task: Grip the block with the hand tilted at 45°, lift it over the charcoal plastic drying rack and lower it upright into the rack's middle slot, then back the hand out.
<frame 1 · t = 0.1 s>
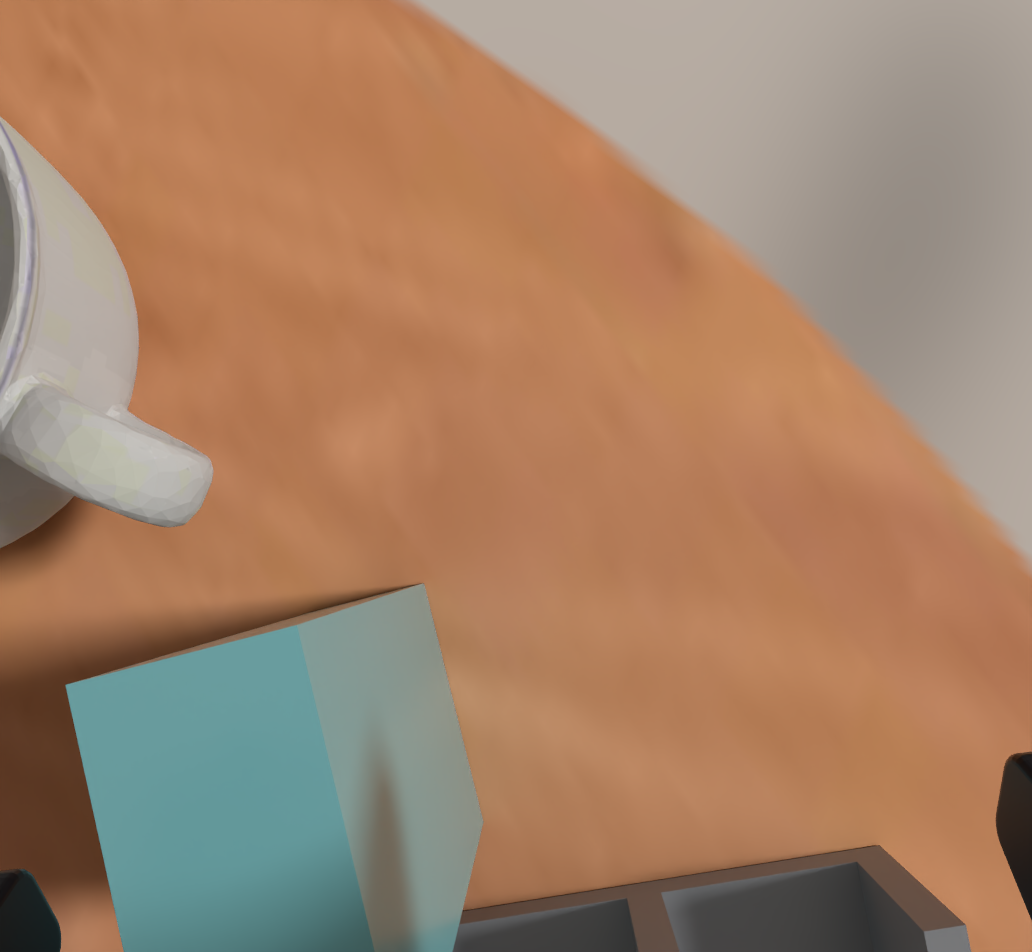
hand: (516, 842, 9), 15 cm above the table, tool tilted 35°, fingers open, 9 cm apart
block: (394, 716, 24), on the table
teacup: (36, 397, 25), on the table
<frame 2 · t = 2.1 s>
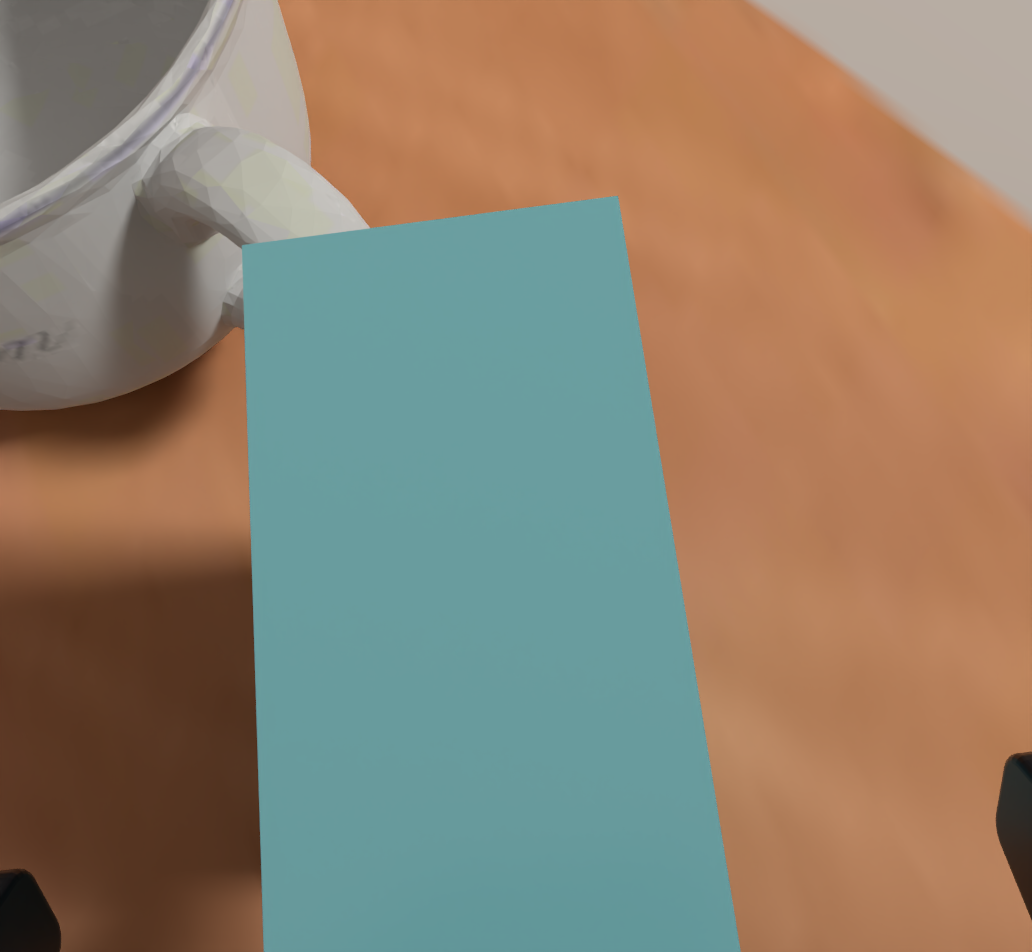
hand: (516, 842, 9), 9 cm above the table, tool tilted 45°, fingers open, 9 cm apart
block: (535, 699, 18), on the table
teacup: (169, 277, 22), on the table
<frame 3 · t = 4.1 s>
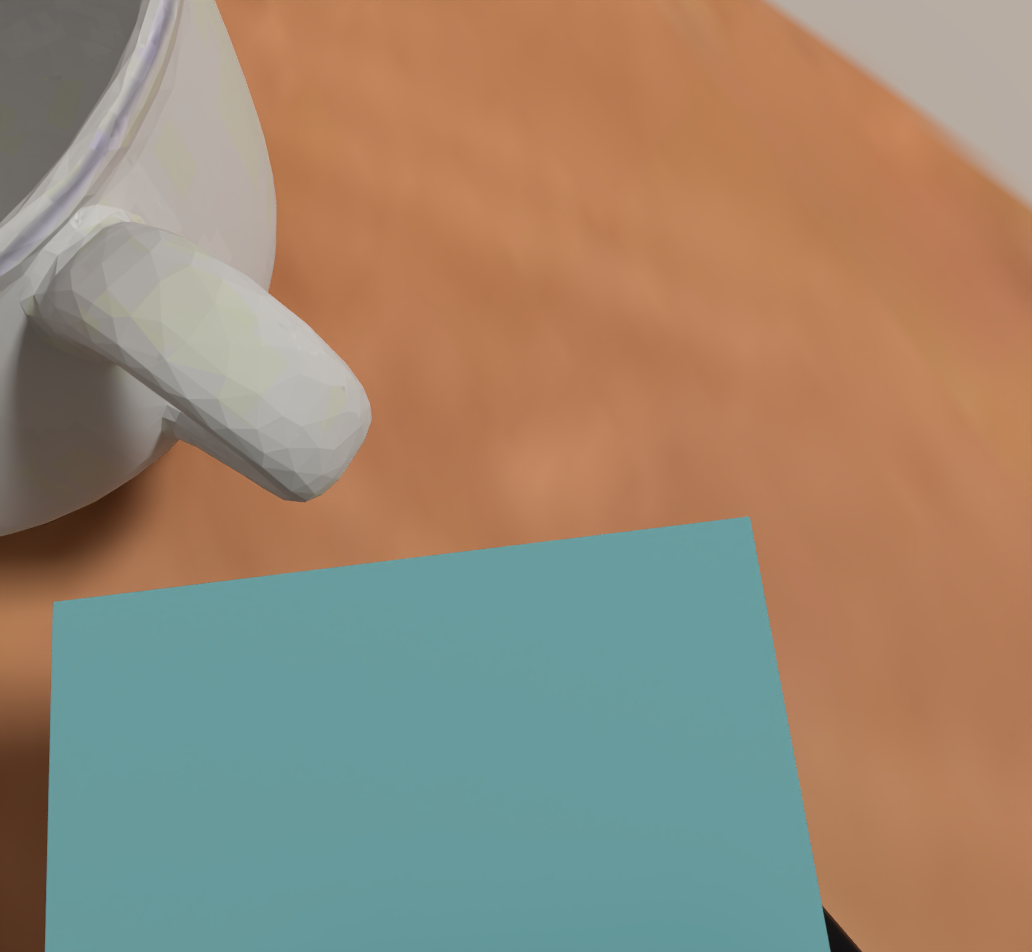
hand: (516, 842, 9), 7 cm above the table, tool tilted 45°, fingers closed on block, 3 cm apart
block: (551, 898, 15), on the table, touching gripper
teacup: (111, 359, 18), on the table
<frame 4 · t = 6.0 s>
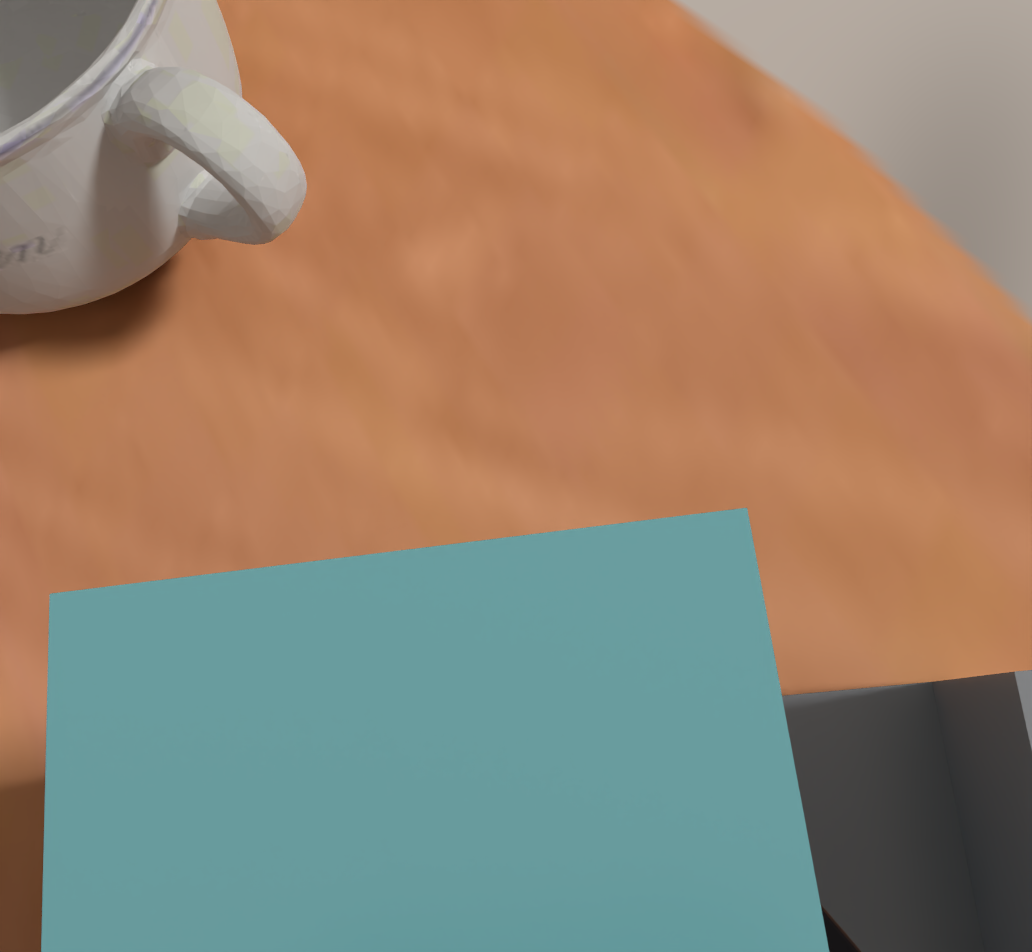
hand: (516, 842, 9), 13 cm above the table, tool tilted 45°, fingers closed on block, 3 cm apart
block: (551, 895, 15), point 7 cm above the table, touching gripper
teacup: (133, 209, 26), on the table
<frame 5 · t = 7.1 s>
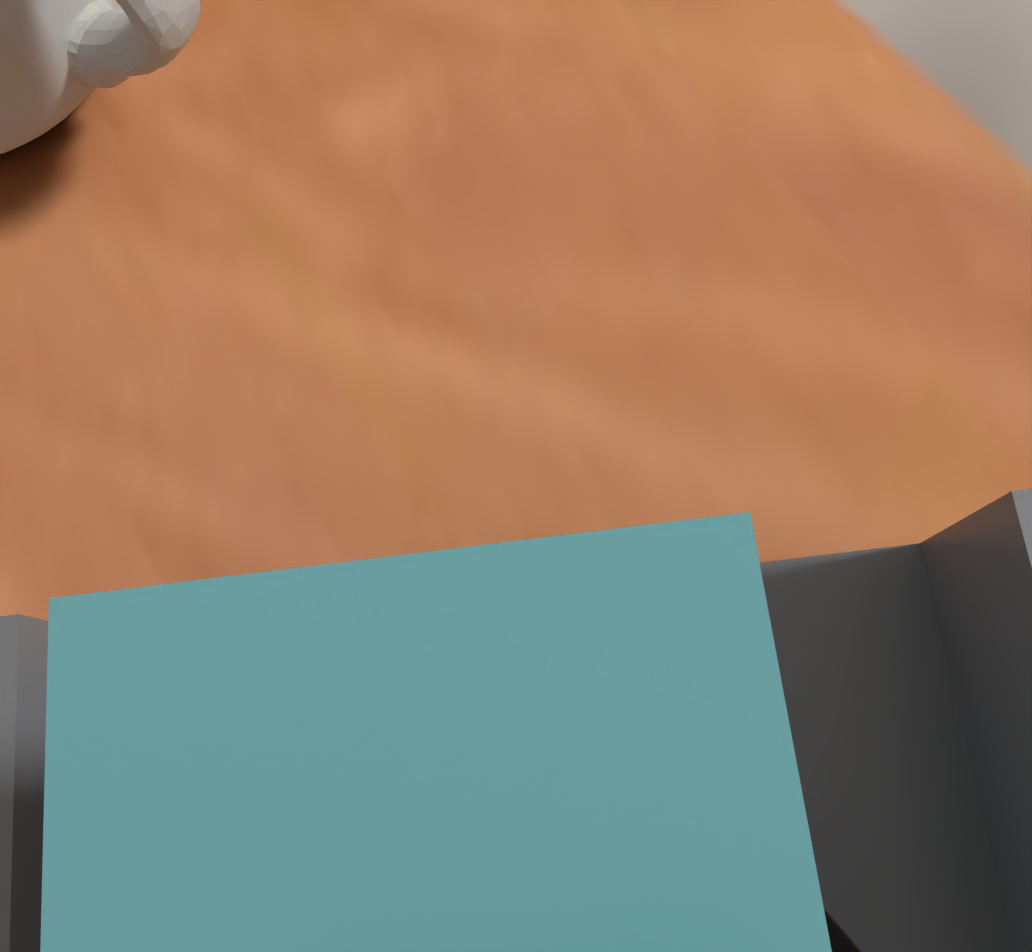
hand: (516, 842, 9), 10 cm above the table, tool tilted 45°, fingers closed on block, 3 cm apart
block: (551, 897, 15), point 3 cm above the table, touching gripper
teacup: (36, 78, 24), on the table
rack: (554, 861, 18), on the table
when the fingers open (9 cm above the table, at t = 8.0 s): block drops 1 cm, resting on rack.
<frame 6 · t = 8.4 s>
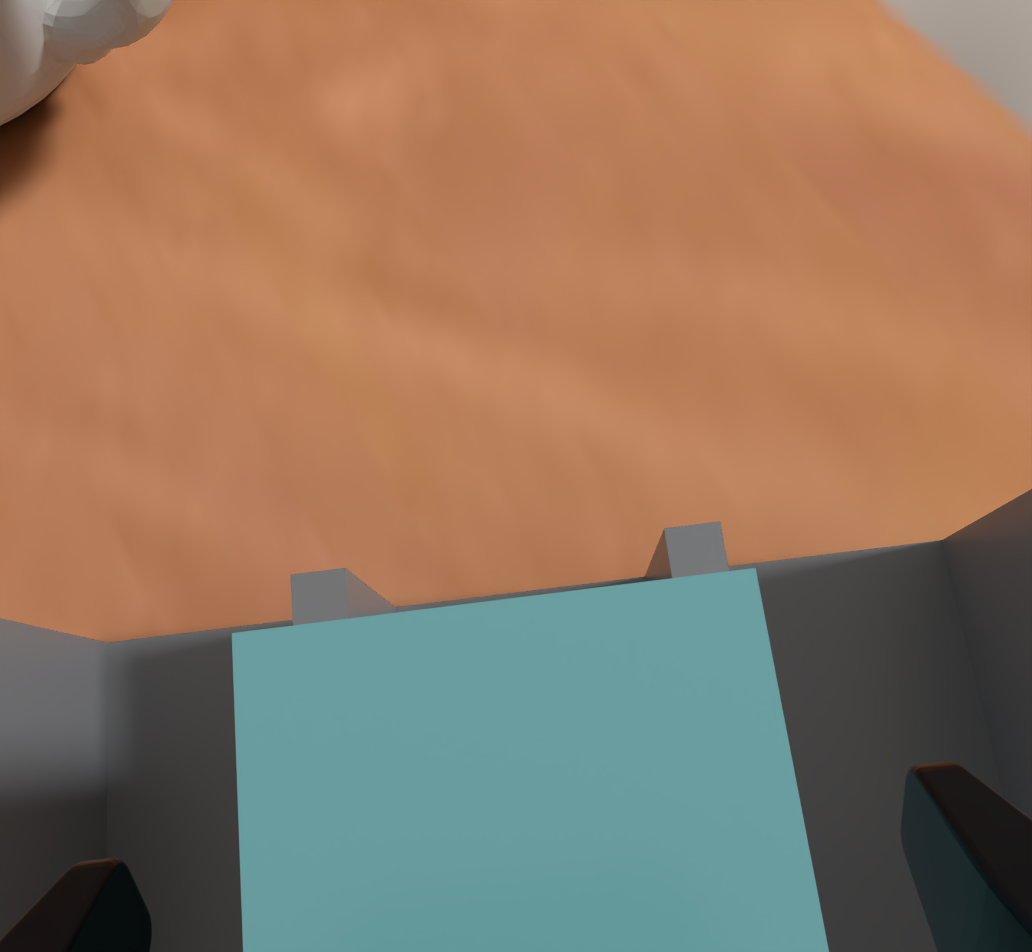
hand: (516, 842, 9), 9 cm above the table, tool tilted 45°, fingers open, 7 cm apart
block: (556, 884, 16), point 1 cm above the table, touching rack
teacup: (15, 58, 23), on the table
rack: (554, 878, 17), on the table
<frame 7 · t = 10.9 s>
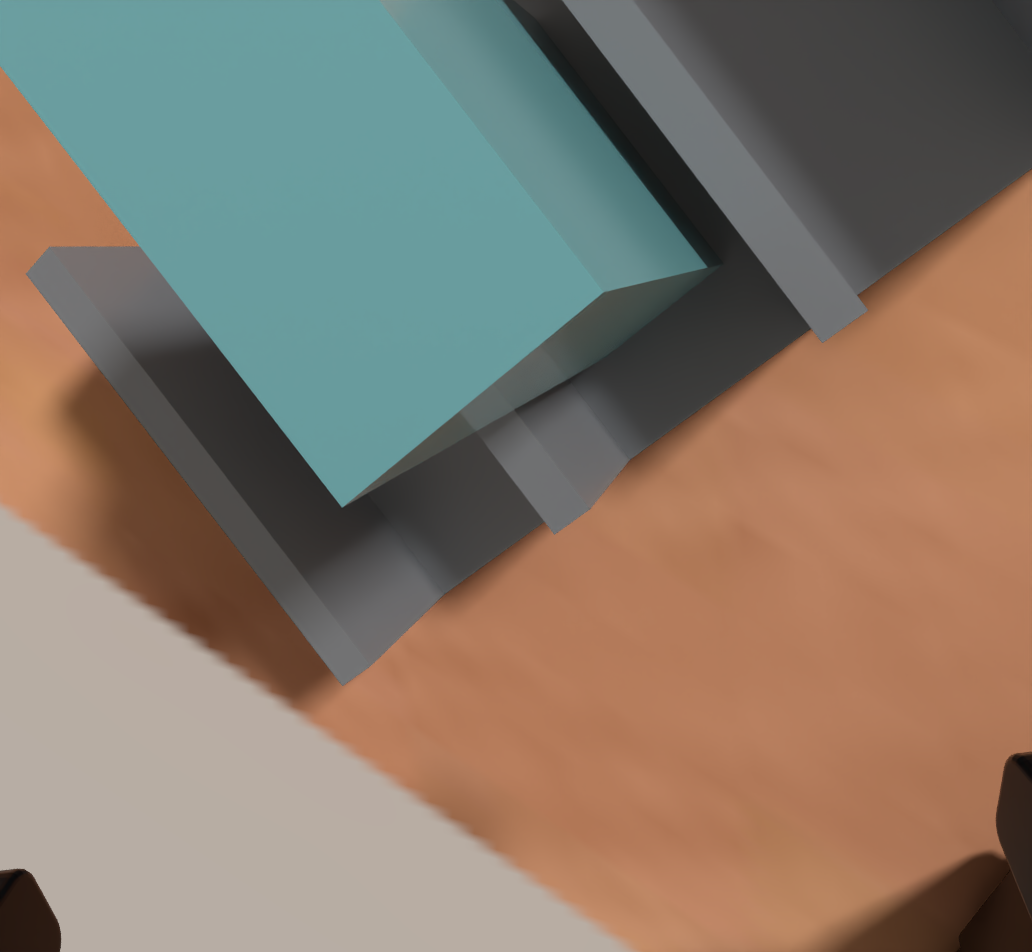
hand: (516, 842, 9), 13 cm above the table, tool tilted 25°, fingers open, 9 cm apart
block: (570, 193, 19), point 1 cm above the table, touching rack
rack: (577, 197, 20), on the table
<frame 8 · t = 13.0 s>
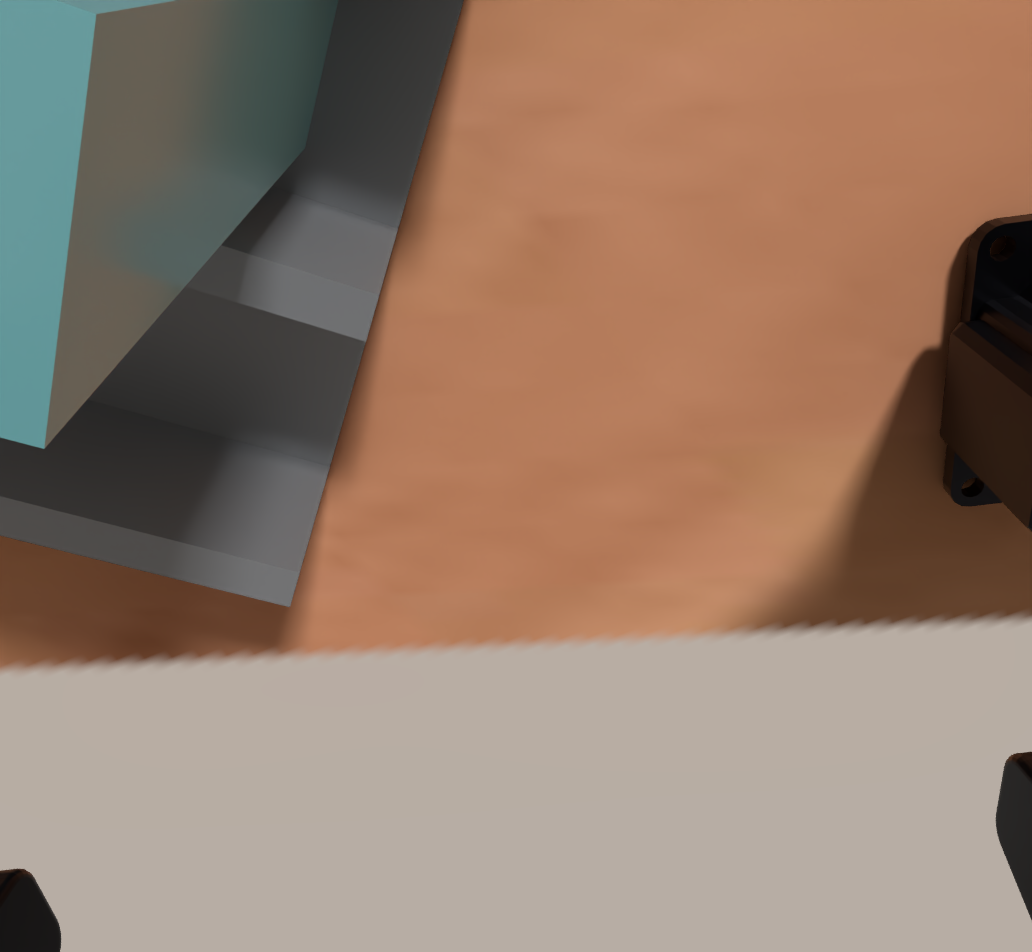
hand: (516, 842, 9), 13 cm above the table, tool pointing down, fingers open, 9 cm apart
block: (149, 2, 16), point 1 cm above the table, touching rack
rack: (163, 3, 17), on the table
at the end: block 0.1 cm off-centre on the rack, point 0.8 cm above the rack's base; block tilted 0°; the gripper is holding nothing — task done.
